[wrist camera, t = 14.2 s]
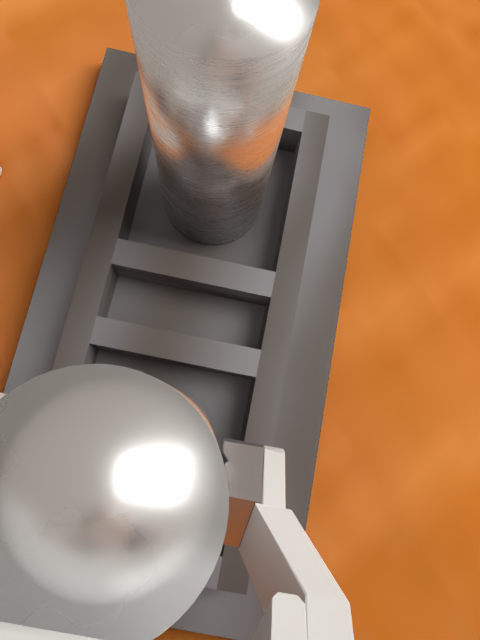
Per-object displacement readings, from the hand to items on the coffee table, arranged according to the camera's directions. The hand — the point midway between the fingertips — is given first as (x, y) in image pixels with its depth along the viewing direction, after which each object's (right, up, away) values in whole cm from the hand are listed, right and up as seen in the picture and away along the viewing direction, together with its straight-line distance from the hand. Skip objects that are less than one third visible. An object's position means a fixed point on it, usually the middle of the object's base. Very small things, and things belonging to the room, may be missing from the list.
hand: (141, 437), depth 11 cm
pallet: (0, +3, +8) cm, 8 cm away
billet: (0, -2, +5) cm, 5 cm away
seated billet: (+1, +8, +8) cm, 11 cm away
